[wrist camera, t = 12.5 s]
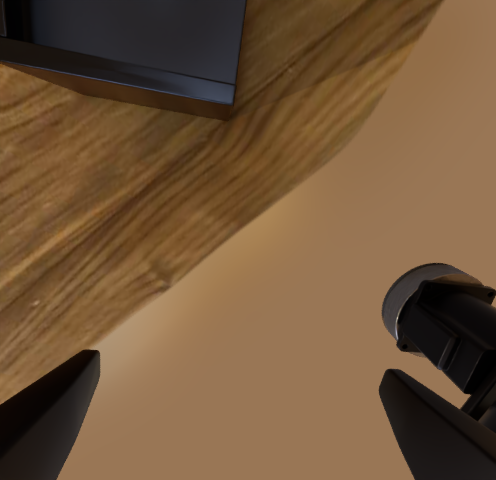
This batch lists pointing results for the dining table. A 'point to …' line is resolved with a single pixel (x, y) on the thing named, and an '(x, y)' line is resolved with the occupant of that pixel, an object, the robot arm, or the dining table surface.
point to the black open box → (130, 49)
